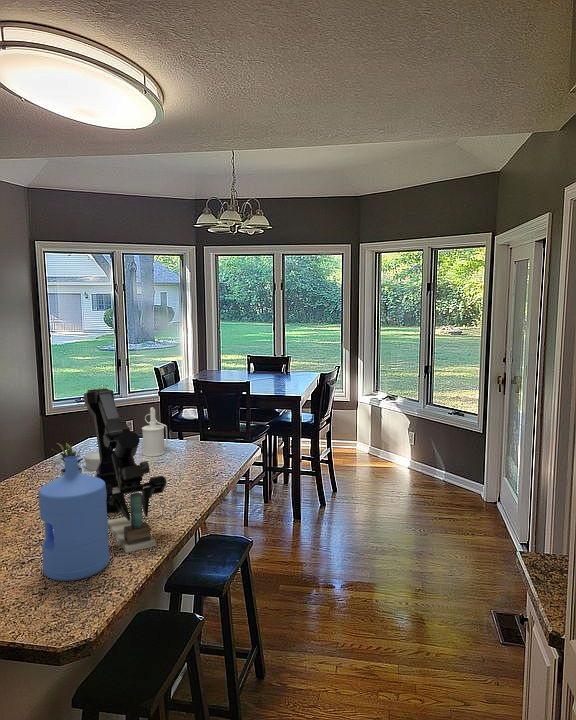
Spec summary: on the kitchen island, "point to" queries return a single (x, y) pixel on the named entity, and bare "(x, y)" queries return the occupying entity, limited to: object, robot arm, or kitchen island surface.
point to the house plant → (69, 453)
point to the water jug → (74, 525)
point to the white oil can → (153, 436)
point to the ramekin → (92, 460)
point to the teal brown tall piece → (136, 522)
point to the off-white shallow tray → (118, 532)
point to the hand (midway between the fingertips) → (138, 518)
